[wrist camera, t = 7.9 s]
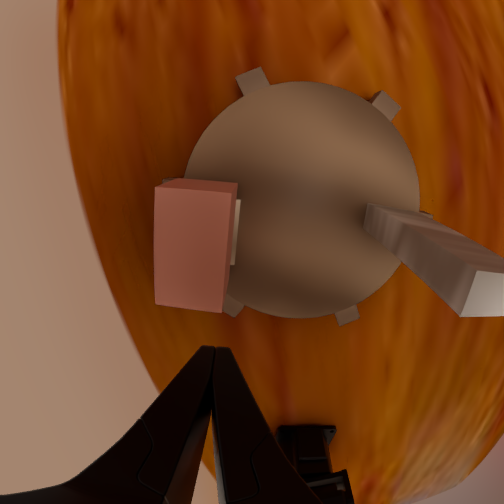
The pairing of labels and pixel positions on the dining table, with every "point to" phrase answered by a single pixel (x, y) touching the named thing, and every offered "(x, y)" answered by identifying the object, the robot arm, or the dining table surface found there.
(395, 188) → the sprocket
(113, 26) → the dining table surface
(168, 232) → the dusty pink block
